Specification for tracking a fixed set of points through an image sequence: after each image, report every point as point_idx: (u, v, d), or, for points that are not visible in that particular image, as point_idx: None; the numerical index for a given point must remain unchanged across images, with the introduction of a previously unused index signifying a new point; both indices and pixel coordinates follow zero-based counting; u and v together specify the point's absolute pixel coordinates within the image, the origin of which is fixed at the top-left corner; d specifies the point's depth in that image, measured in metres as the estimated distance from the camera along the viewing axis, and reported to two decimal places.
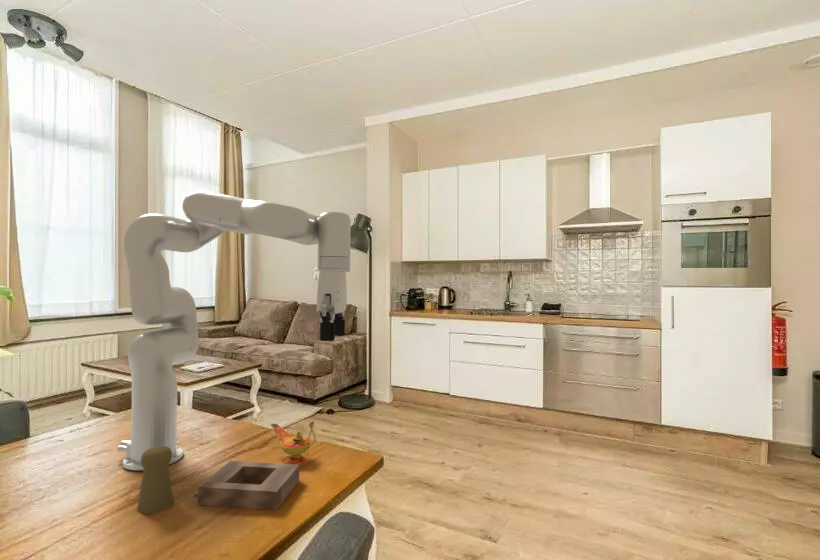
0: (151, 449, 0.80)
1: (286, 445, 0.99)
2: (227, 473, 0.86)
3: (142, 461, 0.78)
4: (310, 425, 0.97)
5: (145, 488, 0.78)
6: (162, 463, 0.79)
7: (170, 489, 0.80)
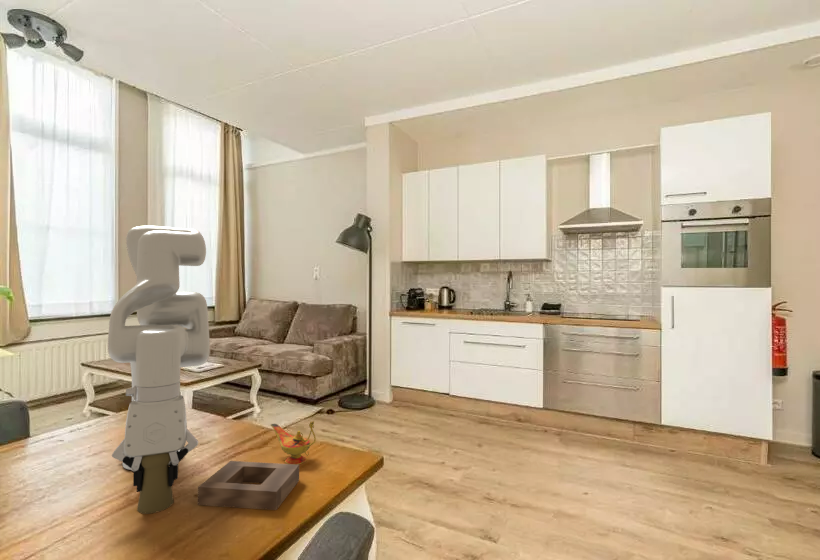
0: None
1: (286, 445, 0.99)
2: (227, 473, 0.86)
3: (142, 461, 0.78)
4: (310, 425, 0.97)
5: (145, 488, 0.78)
6: (162, 463, 0.79)
7: (170, 489, 0.80)
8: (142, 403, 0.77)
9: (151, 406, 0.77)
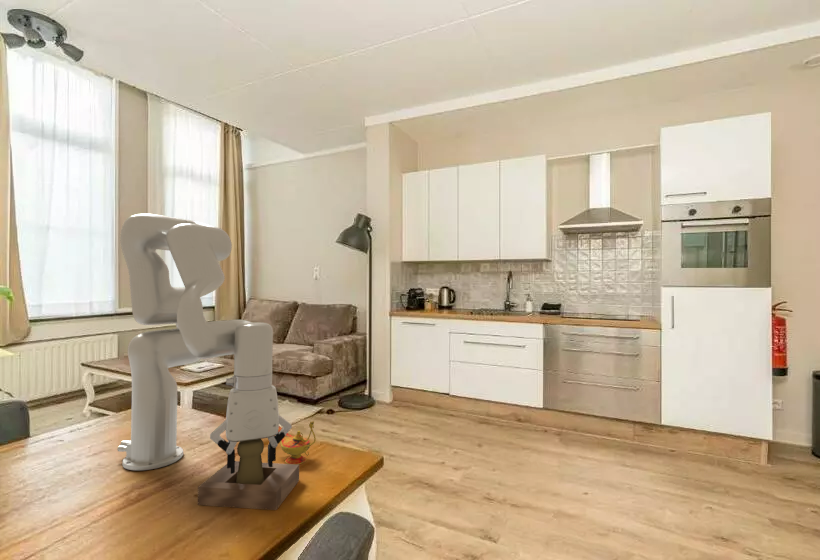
0: None
1: (286, 445, 0.99)
2: (227, 473, 0.86)
3: (239, 451, 0.83)
4: (310, 425, 0.97)
5: (243, 476, 0.83)
6: (257, 453, 0.84)
7: (263, 477, 0.86)
8: (242, 391, 0.82)
9: (250, 394, 0.83)
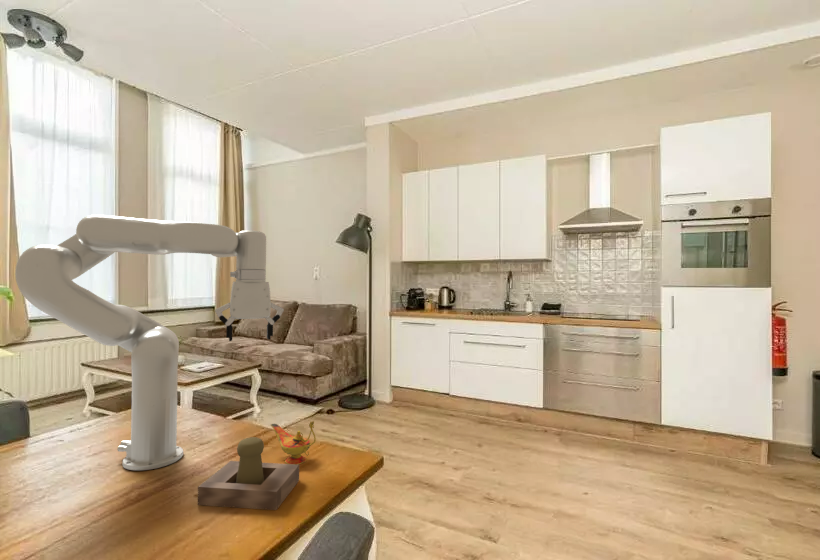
0: (246, 440, 0.85)
1: (286, 445, 0.99)
2: (227, 473, 0.86)
3: (239, 451, 0.83)
4: (310, 425, 0.97)
5: (243, 476, 0.83)
6: (257, 453, 0.84)
7: (263, 477, 0.86)
8: (243, 280, 1.07)
9: (248, 283, 1.08)
